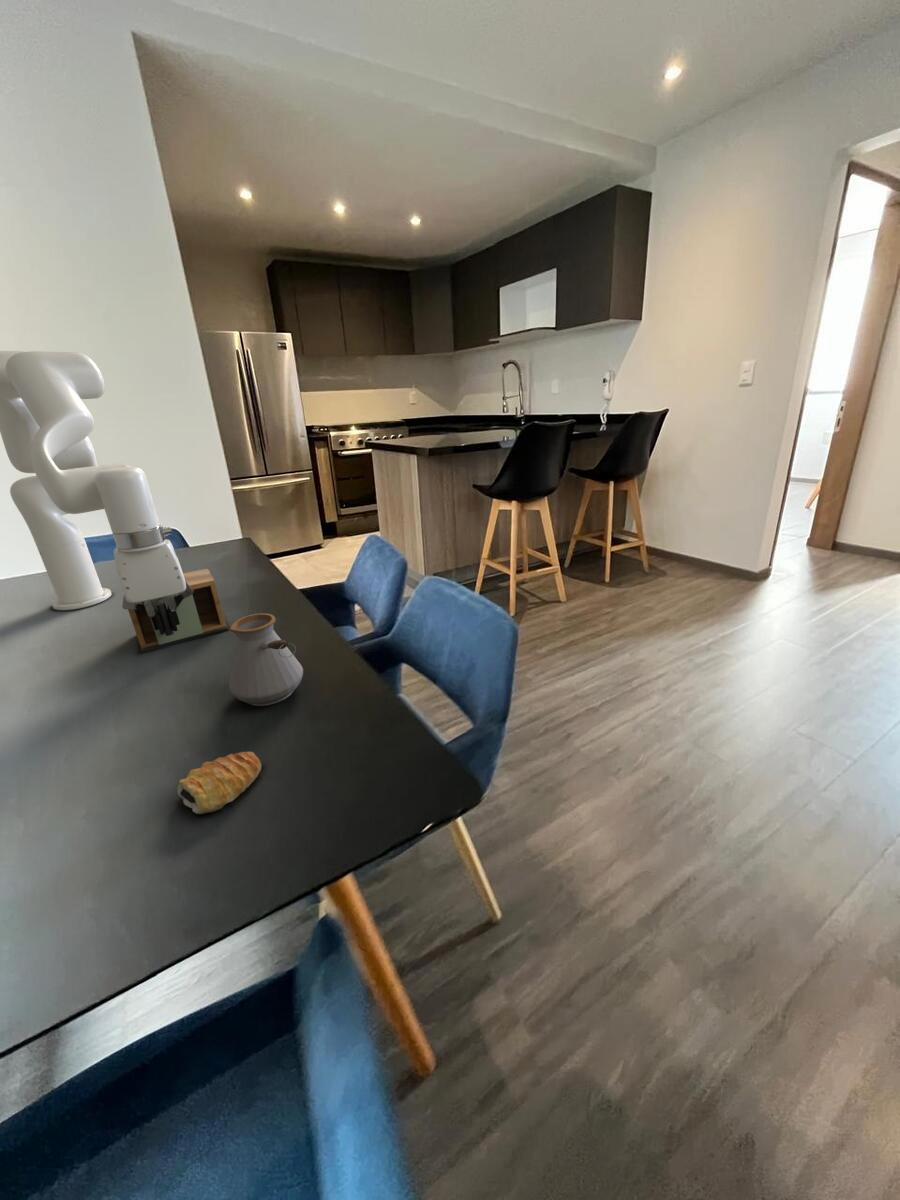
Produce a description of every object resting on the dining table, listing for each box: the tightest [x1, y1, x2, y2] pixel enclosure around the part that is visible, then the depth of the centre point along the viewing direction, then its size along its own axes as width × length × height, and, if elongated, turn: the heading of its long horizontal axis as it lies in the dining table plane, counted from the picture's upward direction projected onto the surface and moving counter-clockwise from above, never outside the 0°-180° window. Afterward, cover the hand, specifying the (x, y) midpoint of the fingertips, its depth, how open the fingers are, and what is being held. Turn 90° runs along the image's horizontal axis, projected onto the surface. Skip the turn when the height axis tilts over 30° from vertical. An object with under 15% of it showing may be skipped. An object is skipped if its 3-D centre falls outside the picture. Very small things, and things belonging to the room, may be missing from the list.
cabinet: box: [127, 568, 229, 653], centre depth 103 cm, size 11×16×11 cm
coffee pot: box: [228, 613, 304, 707], centre depth 74 cm, size 21×12×15 cm, turn 37°
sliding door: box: [150, 595, 203, 645], centre depth 97 cm, size 5×8×10 cm, turn 122°
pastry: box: [176, 751, 262, 815], centre depth 60 cm, size 9×7×4 cm
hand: (168, 629), depth 95 cm, fingers closed
